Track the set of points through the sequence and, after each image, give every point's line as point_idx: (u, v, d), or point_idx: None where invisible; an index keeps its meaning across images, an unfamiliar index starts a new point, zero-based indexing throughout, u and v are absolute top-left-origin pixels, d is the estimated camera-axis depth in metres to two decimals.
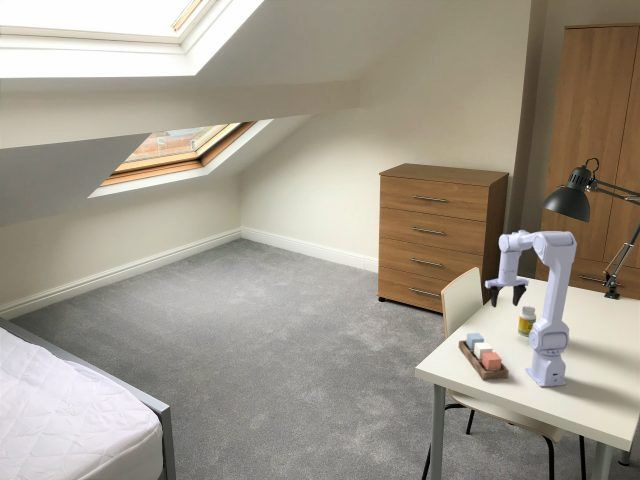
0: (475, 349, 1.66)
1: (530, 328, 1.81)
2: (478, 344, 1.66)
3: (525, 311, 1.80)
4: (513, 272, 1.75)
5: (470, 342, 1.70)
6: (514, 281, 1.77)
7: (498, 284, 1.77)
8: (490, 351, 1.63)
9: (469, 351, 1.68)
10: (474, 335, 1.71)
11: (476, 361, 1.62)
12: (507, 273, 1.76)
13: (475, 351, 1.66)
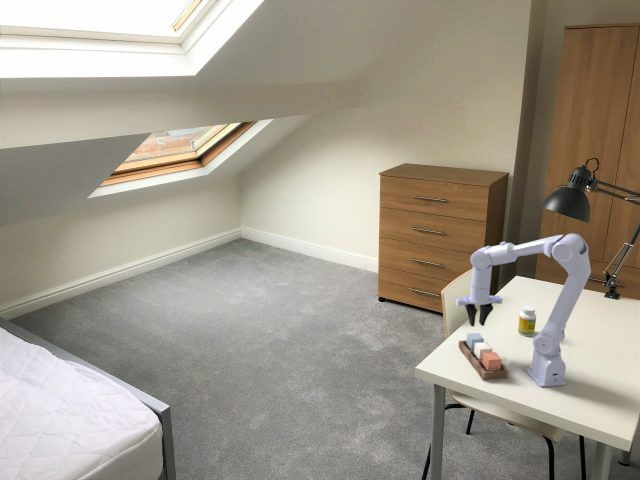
0: (475, 349, 1.66)
1: (530, 328, 1.81)
2: (478, 344, 1.66)
3: (525, 311, 1.80)
4: (485, 289, 1.63)
5: (470, 342, 1.70)
6: (486, 299, 1.64)
7: (469, 302, 1.64)
8: (490, 351, 1.63)
9: (469, 351, 1.68)
10: (474, 335, 1.71)
11: (476, 361, 1.62)
12: (478, 290, 1.63)
13: (475, 351, 1.66)
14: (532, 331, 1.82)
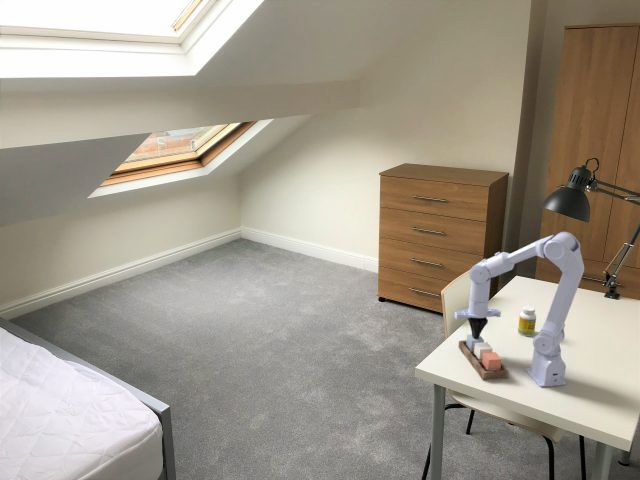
0: (475, 349, 1.66)
1: (530, 328, 1.81)
2: (478, 344, 1.66)
3: (525, 311, 1.80)
4: (484, 303, 1.64)
5: (470, 343, 1.70)
6: (485, 312, 1.65)
7: (468, 315, 1.66)
8: (490, 351, 1.63)
9: (469, 351, 1.68)
10: None
11: (476, 361, 1.62)
12: (477, 304, 1.64)
13: (475, 351, 1.66)
14: (532, 331, 1.82)
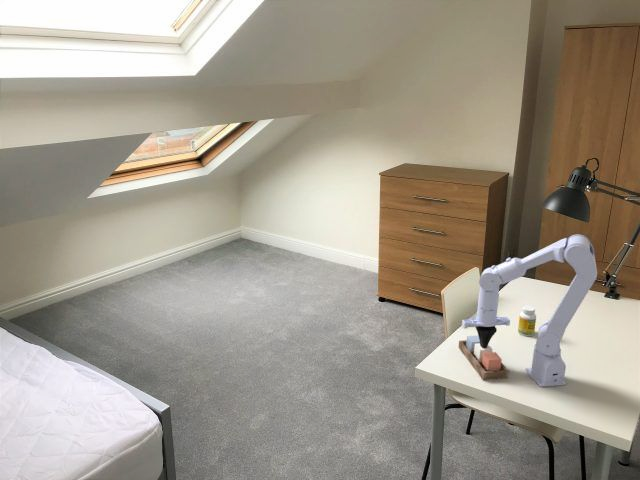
0: (475, 350, 1.66)
1: (530, 328, 1.81)
2: (478, 345, 1.66)
3: (525, 311, 1.80)
4: (492, 311, 1.58)
5: (470, 345, 1.70)
6: (494, 321, 1.60)
7: (476, 324, 1.60)
8: (490, 352, 1.63)
9: (469, 351, 1.68)
10: (474, 338, 1.71)
11: (476, 361, 1.62)
12: (486, 312, 1.58)
13: (475, 352, 1.66)
14: (532, 331, 1.82)
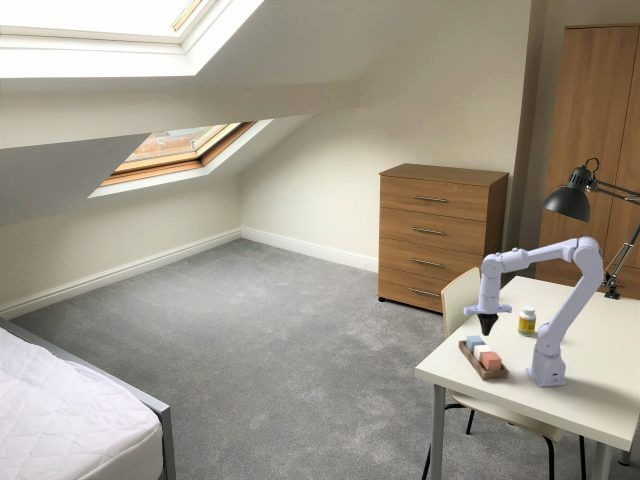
0: (475, 352, 1.66)
1: (530, 328, 1.81)
2: (478, 347, 1.66)
3: (525, 311, 1.80)
4: (494, 298, 1.57)
5: (470, 345, 1.70)
6: (495, 308, 1.58)
7: (478, 311, 1.58)
8: None
9: (469, 351, 1.68)
10: (474, 338, 1.71)
11: (476, 361, 1.62)
12: (487, 299, 1.57)
13: (475, 354, 1.67)
14: (532, 331, 1.82)
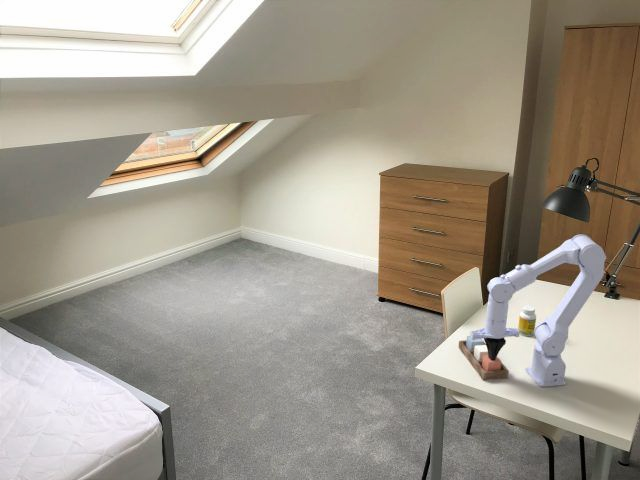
0: (475, 352, 1.66)
1: (530, 328, 1.81)
2: (478, 347, 1.66)
3: (525, 311, 1.80)
4: (502, 322, 1.52)
5: (470, 345, 1.70)
6: (503, 332, 1.54)
7: (484, 336, 1.54)
8: None
9: (469, 351, 1.68)
10: None
11: (476, 361, 1.62)
12: (495, 324, 1.53)
13: (475, 354, 1.67)
14: (532, 331, 1.82)
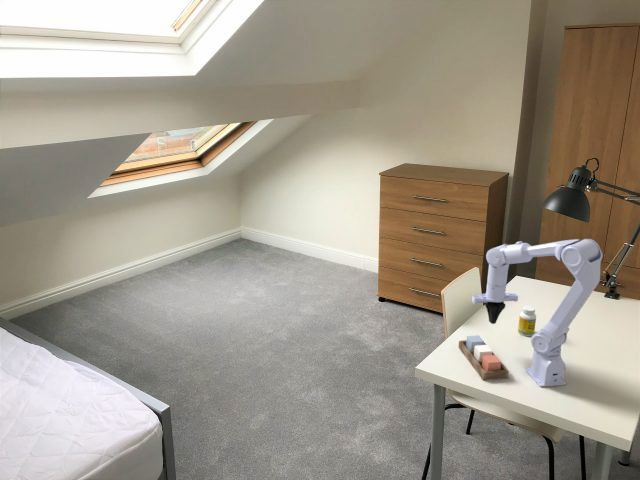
0: (475, 352, 1.66)
1: (530, 328, 1.81)
2: (478, 347, 1.66)
3: (525, 311, 1.80)
4: (501, 287, 1.63)
5: (470, 345, 1.70)
6: (503, 296, 1.65)
7: (485, 300, 1.65)
8: (490, 354, 1.64)
9: (469, 351, 1.68)
10: (474, 338, 1.71)
11: (476, 361, 1.62)
12: (495, 288, 1.63)
13: (475, 354, 1.67)
14: (532, 331, 1.82)
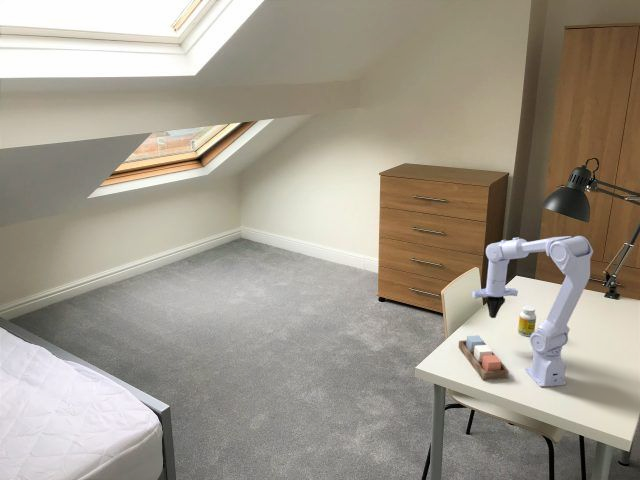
0: (475, 352, 1.66)
1: (530, 328, 1.81)
2: (478, 347, 1.66)
3: (525, 311, 1.80)
4: (501, 282, 1.67)
5: (470, 345, 1.70)
6: (502, 291, 1.68)
7: (485, 294, 1.69)
8: (490, 354, 1.64)
9: (469, 351, 1.68)
10: (474, 338, 1.71)
11: (476, 361, 1.62)
12: (495, 283, 1.67)
13: (475, 354, 1.67)
14: (532, 331, 1.82)
